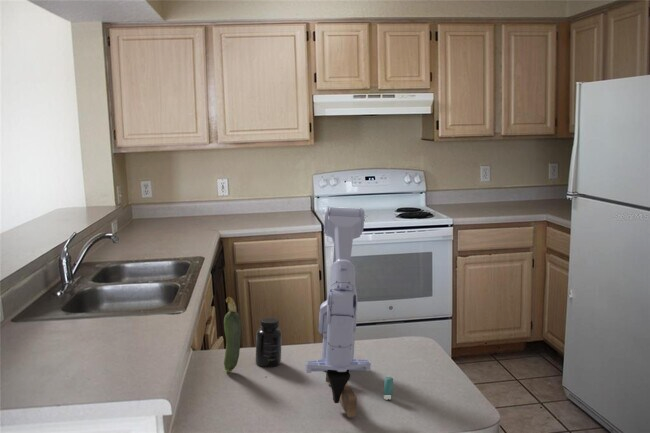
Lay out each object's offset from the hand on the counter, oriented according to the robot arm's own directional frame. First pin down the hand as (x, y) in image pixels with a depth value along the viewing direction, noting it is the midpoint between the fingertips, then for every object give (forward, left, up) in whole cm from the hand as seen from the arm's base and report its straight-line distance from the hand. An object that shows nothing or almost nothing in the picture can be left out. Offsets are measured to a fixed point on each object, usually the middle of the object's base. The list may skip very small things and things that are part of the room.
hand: (335, 401), depth 132 cm
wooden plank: (-5, -1, -1) cm, 5 cm away
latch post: (-12, +8, -2) cm, 15 cm away
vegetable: (-3, -32, -2) cm, 32 cm away
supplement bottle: (-14, -28, -2) cm, 31 cm away
